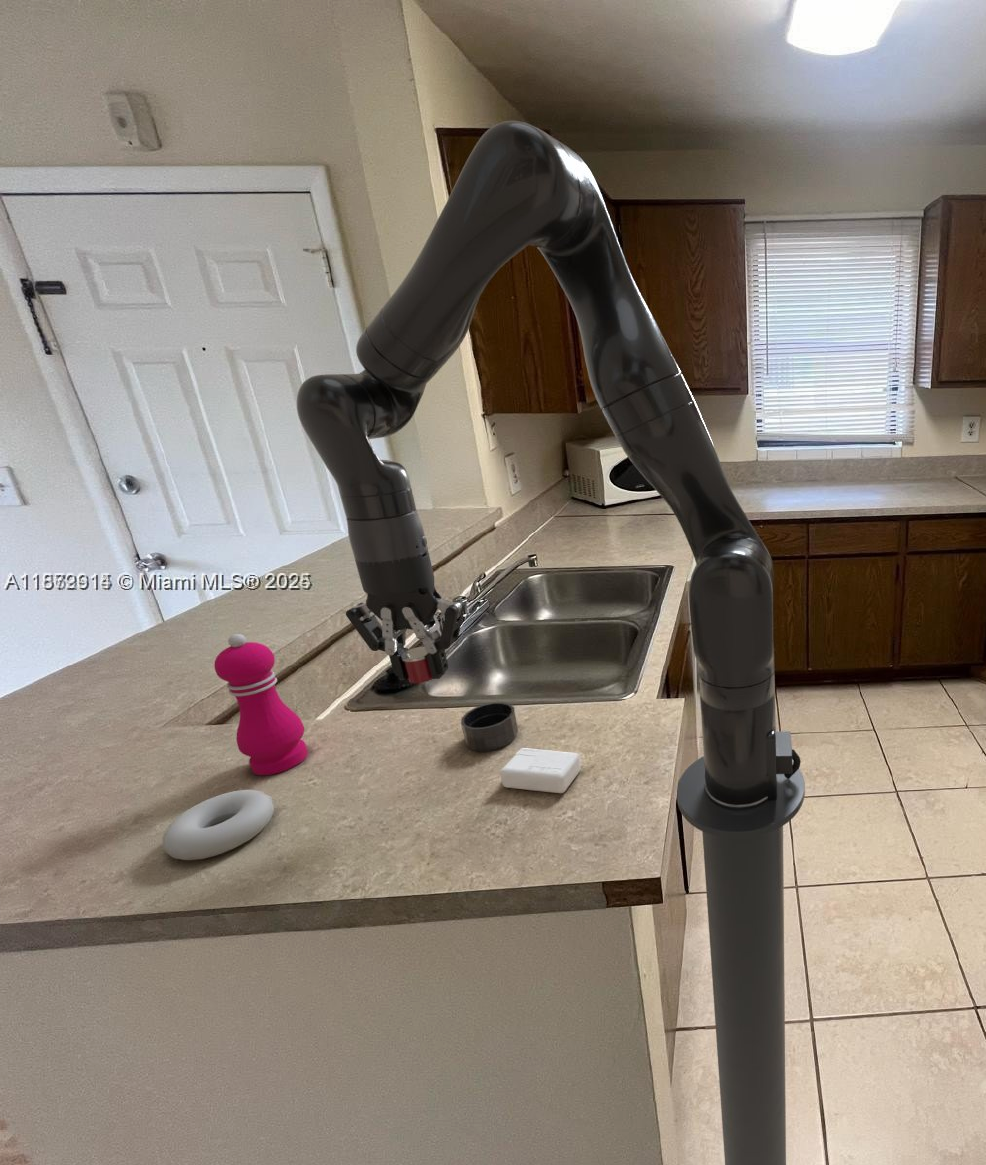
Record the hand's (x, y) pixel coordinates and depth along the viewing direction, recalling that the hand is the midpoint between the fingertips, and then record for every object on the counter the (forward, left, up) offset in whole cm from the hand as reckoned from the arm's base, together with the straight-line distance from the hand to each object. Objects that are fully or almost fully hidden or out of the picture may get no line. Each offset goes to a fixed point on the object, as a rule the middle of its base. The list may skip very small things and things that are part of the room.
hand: (423, 676), depth 77 cm
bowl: (-3, -8, -15) cm, 17 cm away
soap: (-14, +2, -15) cm, 21 cm away
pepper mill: (+25, -3, -15) cm, 29 cm away
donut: (+21, +11, -15) cm, 28 cm away
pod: (0, 0, 0) cm, 0 cm away
